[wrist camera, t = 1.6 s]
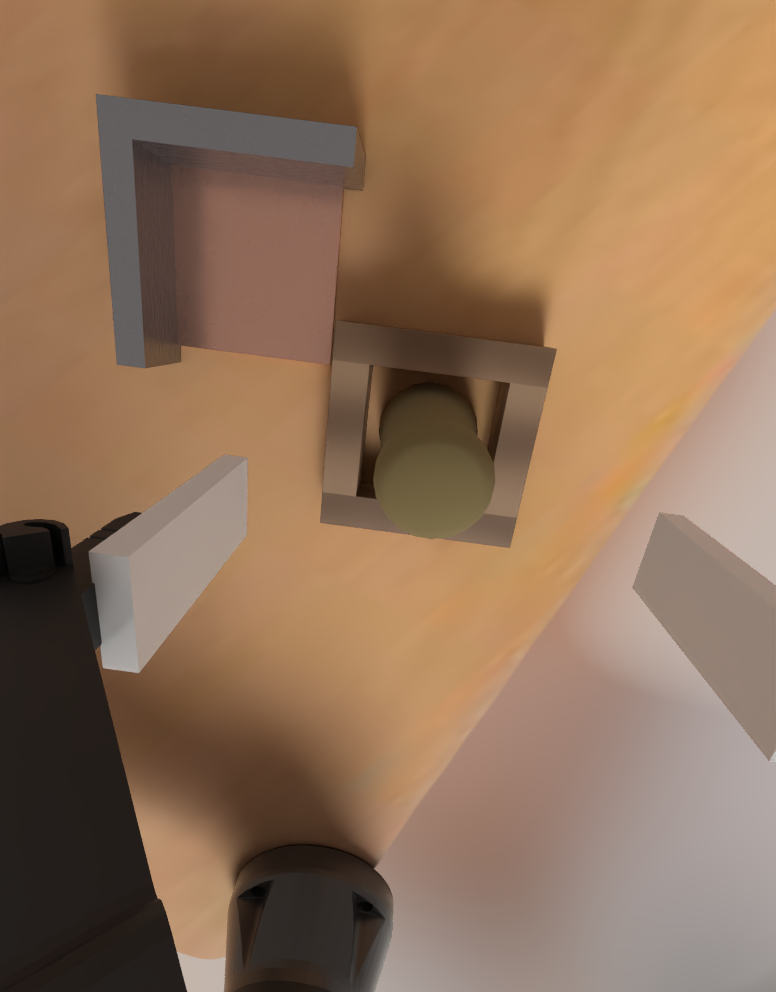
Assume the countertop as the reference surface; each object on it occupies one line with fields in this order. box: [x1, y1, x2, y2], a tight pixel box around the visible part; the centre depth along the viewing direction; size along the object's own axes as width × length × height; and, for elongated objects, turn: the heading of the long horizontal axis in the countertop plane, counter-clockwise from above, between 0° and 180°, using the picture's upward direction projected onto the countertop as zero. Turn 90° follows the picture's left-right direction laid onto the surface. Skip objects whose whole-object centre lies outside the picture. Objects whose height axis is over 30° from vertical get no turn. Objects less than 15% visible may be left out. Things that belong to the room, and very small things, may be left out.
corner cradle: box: [96, 94, 366, 368], centre depth 24 cm, size 12×12×4 cm
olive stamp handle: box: [373, 382, 495, 539], centre depth 24 cm, size 6×6×11 cm
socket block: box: [320, 320, 557, 548], centre depth 28 cm, size 12×12×3 cm
